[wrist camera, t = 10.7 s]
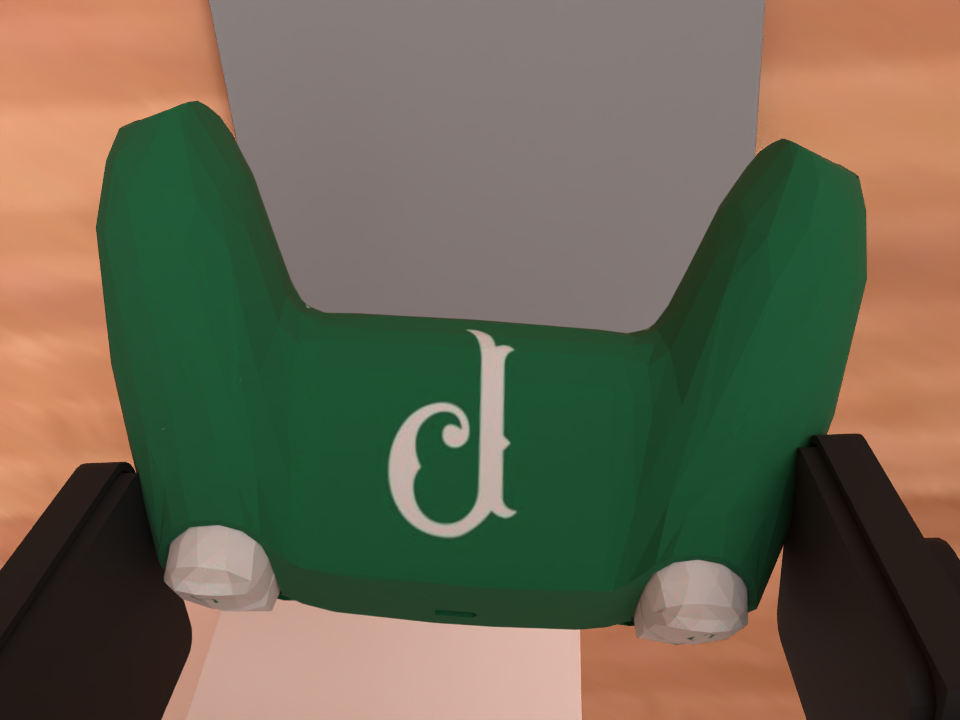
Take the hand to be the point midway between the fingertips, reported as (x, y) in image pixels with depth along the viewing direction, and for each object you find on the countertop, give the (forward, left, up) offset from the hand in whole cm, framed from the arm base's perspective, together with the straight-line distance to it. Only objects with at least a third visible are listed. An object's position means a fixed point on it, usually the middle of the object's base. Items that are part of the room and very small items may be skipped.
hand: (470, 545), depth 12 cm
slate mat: (0, +1, -20) cm, 20 cm away
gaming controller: (0, -2, -3) cm, 3 cm away
